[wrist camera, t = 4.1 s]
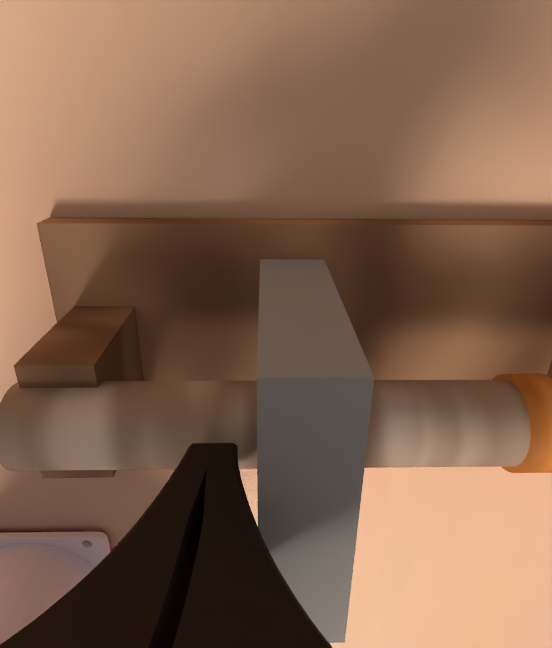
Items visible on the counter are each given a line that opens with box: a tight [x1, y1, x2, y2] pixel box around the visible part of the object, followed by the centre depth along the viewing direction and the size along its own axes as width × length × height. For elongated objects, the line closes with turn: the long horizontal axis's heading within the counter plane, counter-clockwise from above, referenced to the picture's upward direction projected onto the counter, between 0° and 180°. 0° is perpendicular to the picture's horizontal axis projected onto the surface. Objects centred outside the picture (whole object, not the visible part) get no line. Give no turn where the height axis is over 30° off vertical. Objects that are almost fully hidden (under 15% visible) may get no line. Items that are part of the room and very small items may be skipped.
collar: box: [257, 259, 374, 643], centre depth 15 cm, size 2×9×9 cm, turn 0°
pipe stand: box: [0, 218, 552, 478], centre depth 17 cm, size 24×11×7 cm, turn 89°
